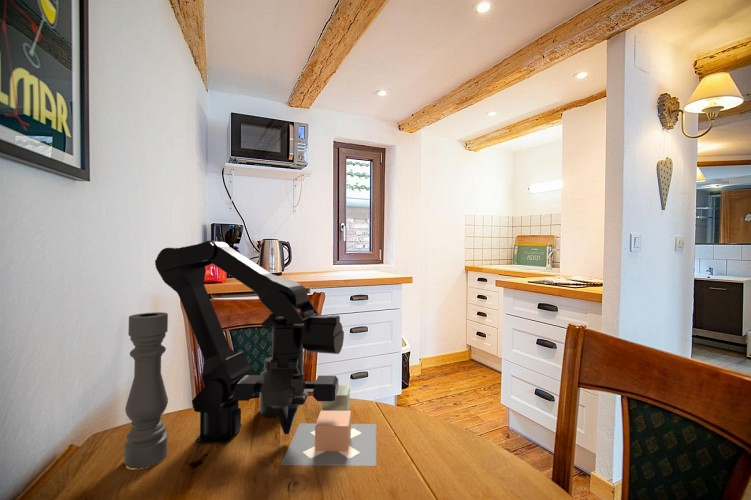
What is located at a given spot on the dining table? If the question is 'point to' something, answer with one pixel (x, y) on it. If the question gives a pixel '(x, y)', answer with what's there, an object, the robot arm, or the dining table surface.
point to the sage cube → (338, 400)
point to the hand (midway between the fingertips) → (287, 433)
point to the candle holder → (146, 392)
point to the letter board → (357, 455)
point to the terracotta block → (333, 431)
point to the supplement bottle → (263, 409)
